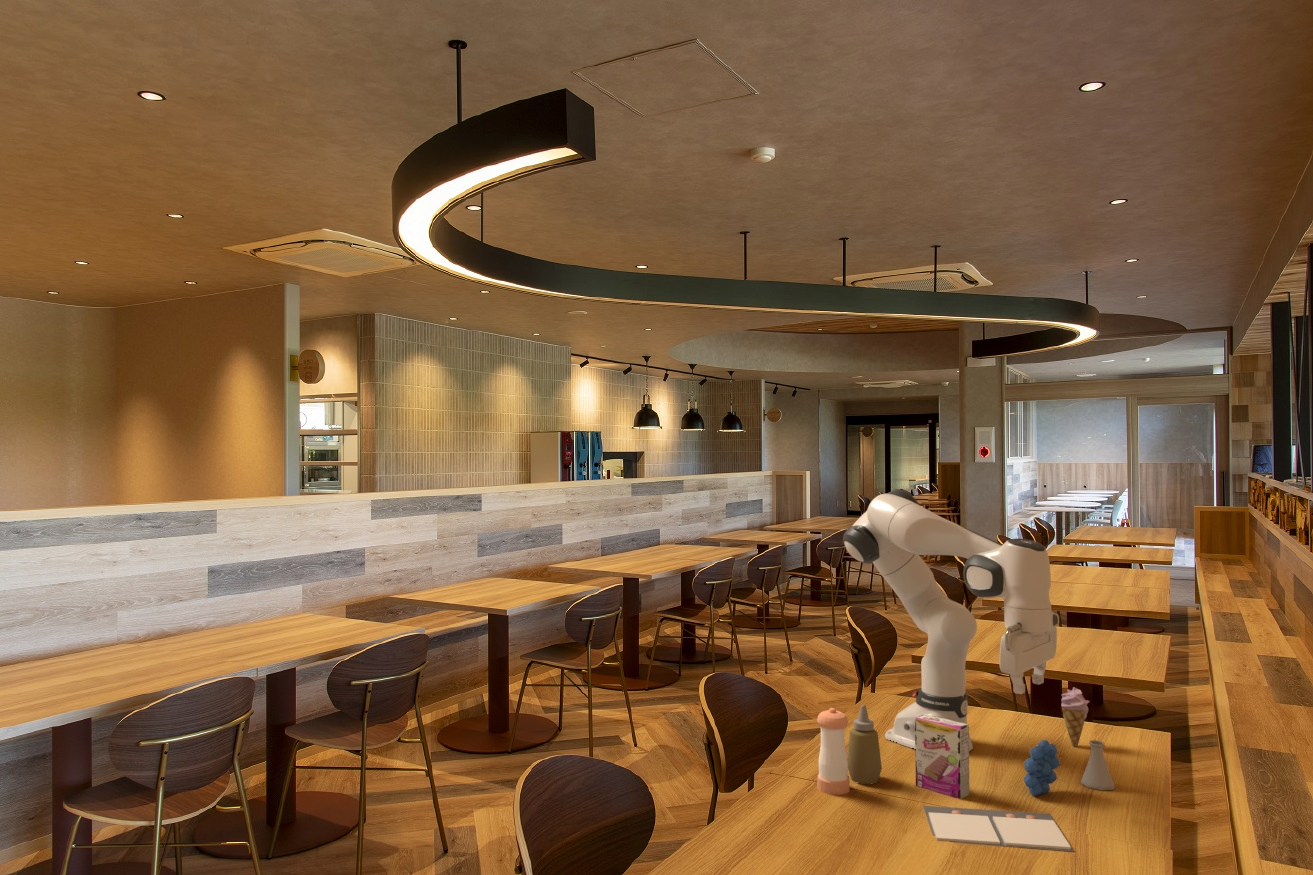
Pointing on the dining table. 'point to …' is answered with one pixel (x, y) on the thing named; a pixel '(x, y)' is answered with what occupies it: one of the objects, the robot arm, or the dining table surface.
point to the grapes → (1041, 768)
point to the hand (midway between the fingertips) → (1028, 688)
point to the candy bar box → (942, 755)
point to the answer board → (996, 828)
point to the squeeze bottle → (864, 750)
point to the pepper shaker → (833, 753)
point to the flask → (1097, 769)
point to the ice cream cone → (1074, 713)
